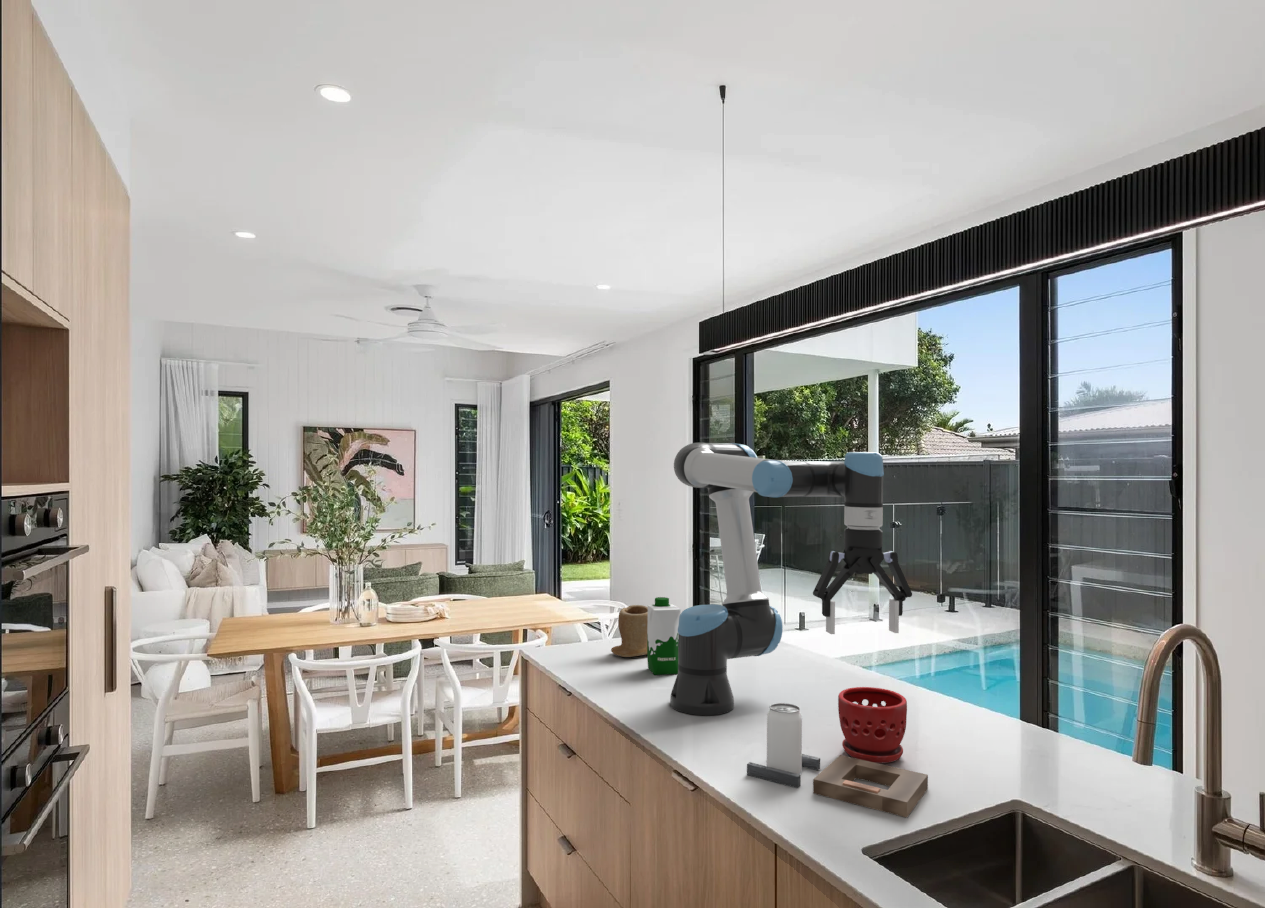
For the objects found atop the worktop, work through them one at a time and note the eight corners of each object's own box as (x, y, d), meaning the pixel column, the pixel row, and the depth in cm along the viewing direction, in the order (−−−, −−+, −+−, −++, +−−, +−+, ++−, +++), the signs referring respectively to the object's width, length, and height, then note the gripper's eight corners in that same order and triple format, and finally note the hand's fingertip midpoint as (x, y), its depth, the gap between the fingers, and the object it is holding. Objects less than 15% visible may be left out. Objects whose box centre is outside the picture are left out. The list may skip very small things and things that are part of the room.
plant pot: (831, 743, 159) (831, 685, 159) (894, 744, 159) (895, 686, 159) (846, 767, 146) (847, 704, 146) (916, 769, 146) (916, 706, 146)
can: (801, 780, 140) (802, 714, 140) (766, 776, 141) (766, 711, 141) (801, 766, 146) (801, 703, 146) (766, 763, 147) (767, 701, 148)
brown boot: (625, 662, 223) (626, 611, 223) (606, 653, 233) (607, 604, 234) (669, 656, 231) (669, 607, 231) (648, 648, 241) (649, 600, 241)
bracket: (746, 774, 142) (746, 763, 142) (771, 756, 151) (771, 746, 151) (798, 788, 136) (798, 776, 136) (820, 768, 145) (820, 757, 145)
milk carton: (673, 666, 219) (674, 596, 220) (683, 674, 211) (683, 601, 211) (644, 667, 217) (644, 597, 218) (652, 676, 209) (653, 602, 209)
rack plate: (813, 793, 134) (813, 777, 134) (840, 767, 146) (840, 753, 146) (906, 817, 125) (907, 800, 125) (927, 788, 137) (927, 772, 137)
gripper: (811, 529, 150) (810, 637, 150) (930, 529, 154) (929, 635, 154) (798, 525, 158) (796, 629, 157) (911, 526, 161) (910, 627, 161)
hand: (862, 632), depth 155 cm, fingers open, 13 cm apart
